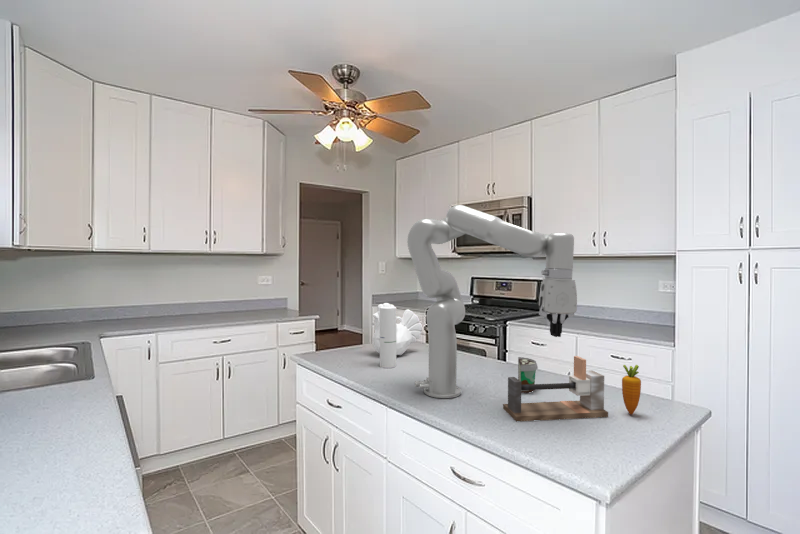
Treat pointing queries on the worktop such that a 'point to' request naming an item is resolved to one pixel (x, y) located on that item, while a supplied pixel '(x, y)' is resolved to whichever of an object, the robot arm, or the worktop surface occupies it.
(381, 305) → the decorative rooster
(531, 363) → the food container
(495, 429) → the worktop surface
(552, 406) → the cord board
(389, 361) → the cylindrical container
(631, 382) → the carrot
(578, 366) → the sleeve
